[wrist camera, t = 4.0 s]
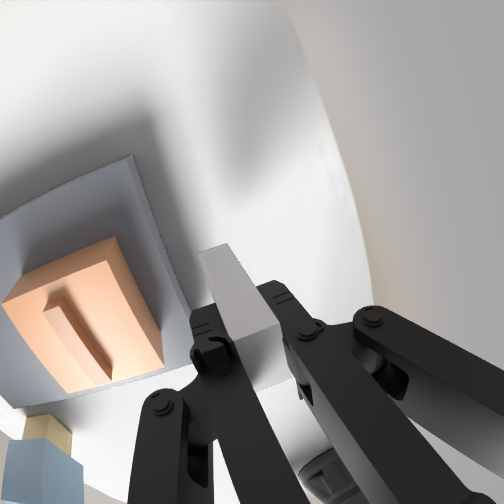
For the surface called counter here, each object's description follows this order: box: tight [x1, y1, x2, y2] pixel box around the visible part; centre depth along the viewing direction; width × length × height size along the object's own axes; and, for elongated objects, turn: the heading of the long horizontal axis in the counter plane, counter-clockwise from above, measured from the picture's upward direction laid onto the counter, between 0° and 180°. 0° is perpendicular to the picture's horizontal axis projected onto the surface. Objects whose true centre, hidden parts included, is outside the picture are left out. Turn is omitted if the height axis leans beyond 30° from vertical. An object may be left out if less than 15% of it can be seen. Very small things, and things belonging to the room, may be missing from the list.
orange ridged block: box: [1, 236, 165, 394], centre depth 13 cm, size 6×6×4 cm
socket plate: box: [0, 155, 194, 409], centre depth 15 cm, size 18×13×4 cm
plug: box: [1, 414, 84, 504], centre depth 16 cm, size 6×6×12 cm
